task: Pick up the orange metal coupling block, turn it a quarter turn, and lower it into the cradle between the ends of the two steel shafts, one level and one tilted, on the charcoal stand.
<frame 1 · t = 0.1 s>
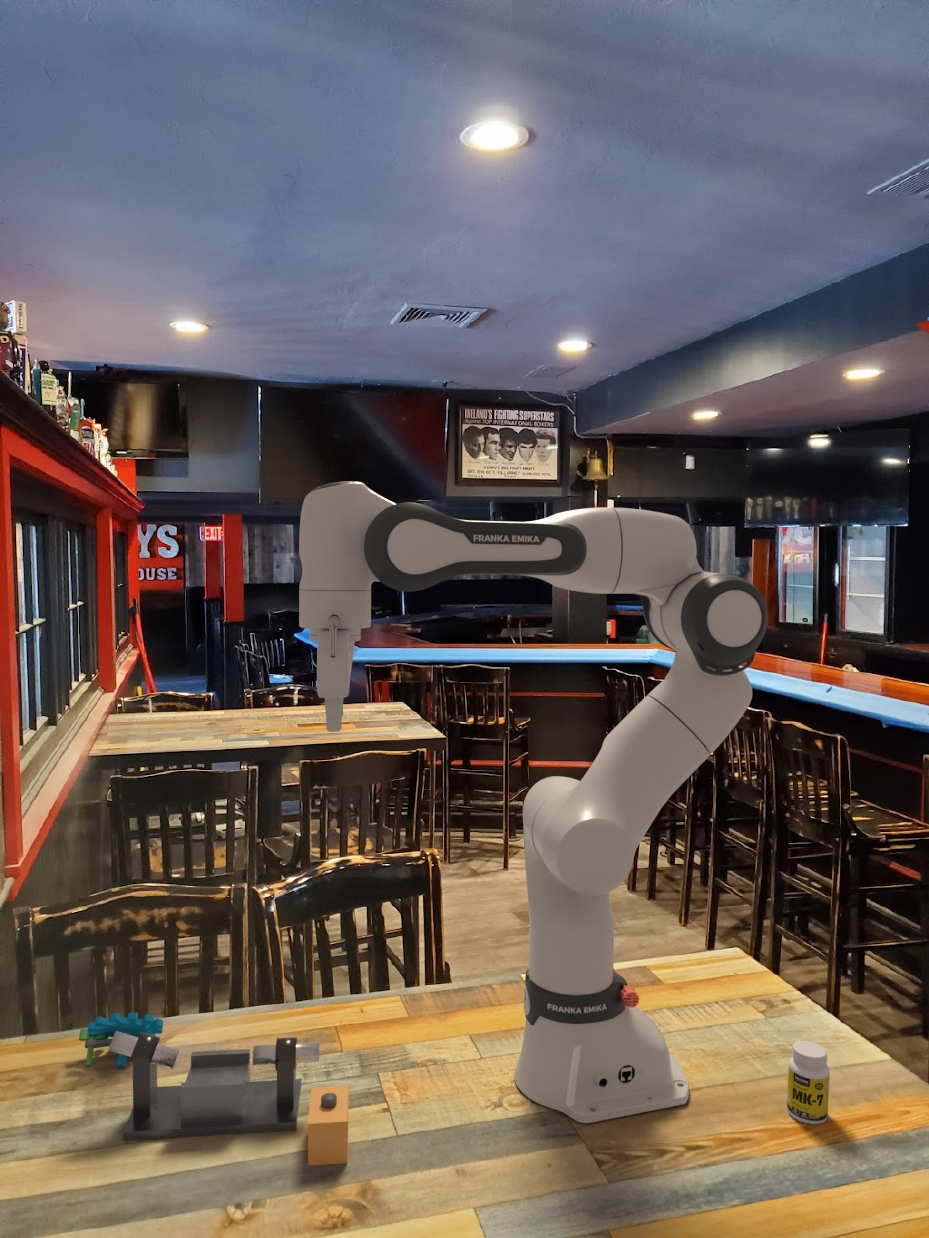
hand: (335, 723, 111), 48 cm above the table, tool pointing down, fingers open, 8 cm apart
shaft stand: (216, 1111, 110), on the table
gear: (122, 1056, 123), on the table
supplement bottle: (807, 1115, 111), on the table
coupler: (328, 1145, 104), on the table
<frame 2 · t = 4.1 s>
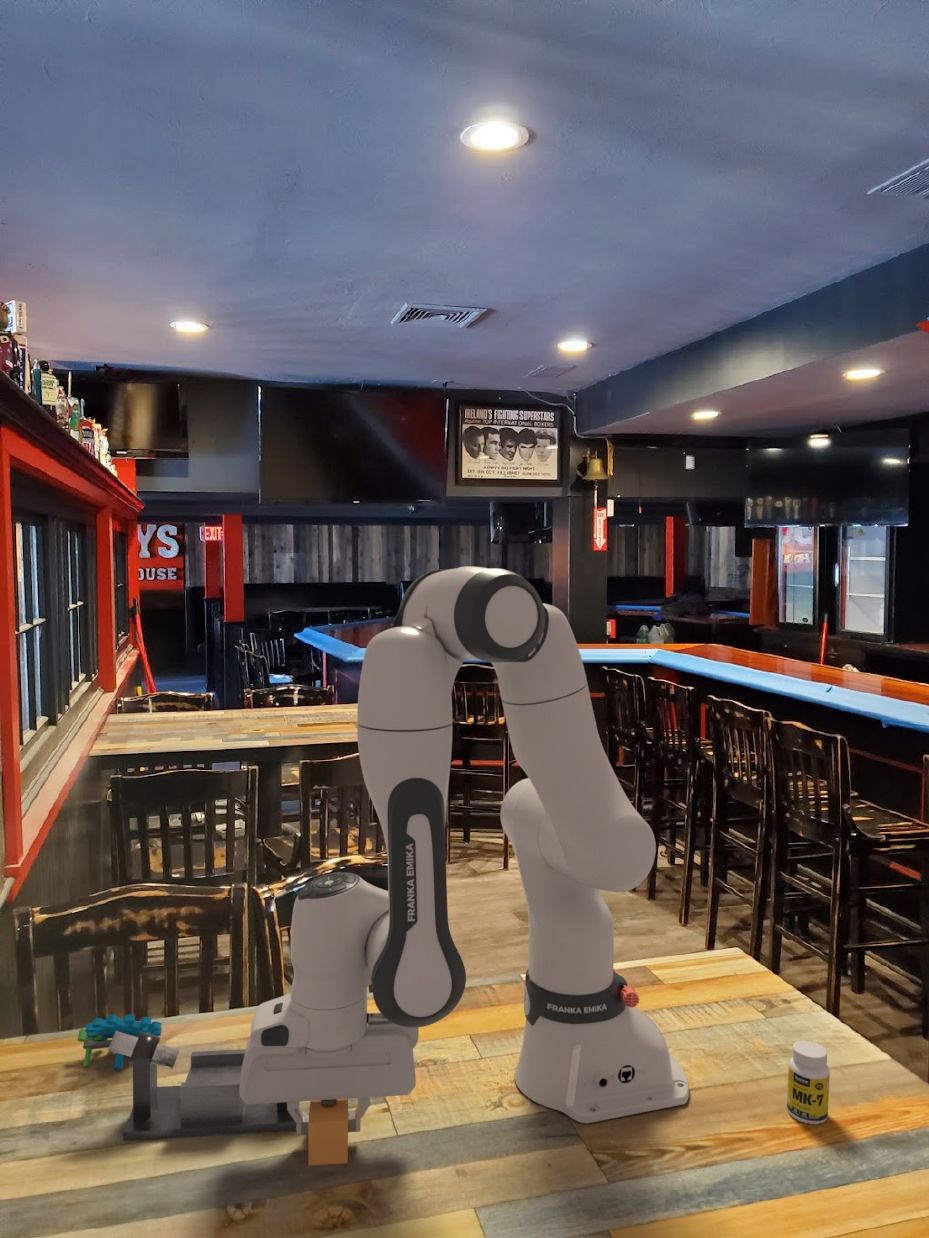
hand: (328, 1130, 104), 2 cm above the table, tool pointing down, fingers closed on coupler, 4 cm apart
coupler: (328, 1144, 104), on the table, touching gripper
everything else where it was.
when the fingers open (7 cm above the table, at t = 10.0 s): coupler drops 1 cm, resting on shaft stand.
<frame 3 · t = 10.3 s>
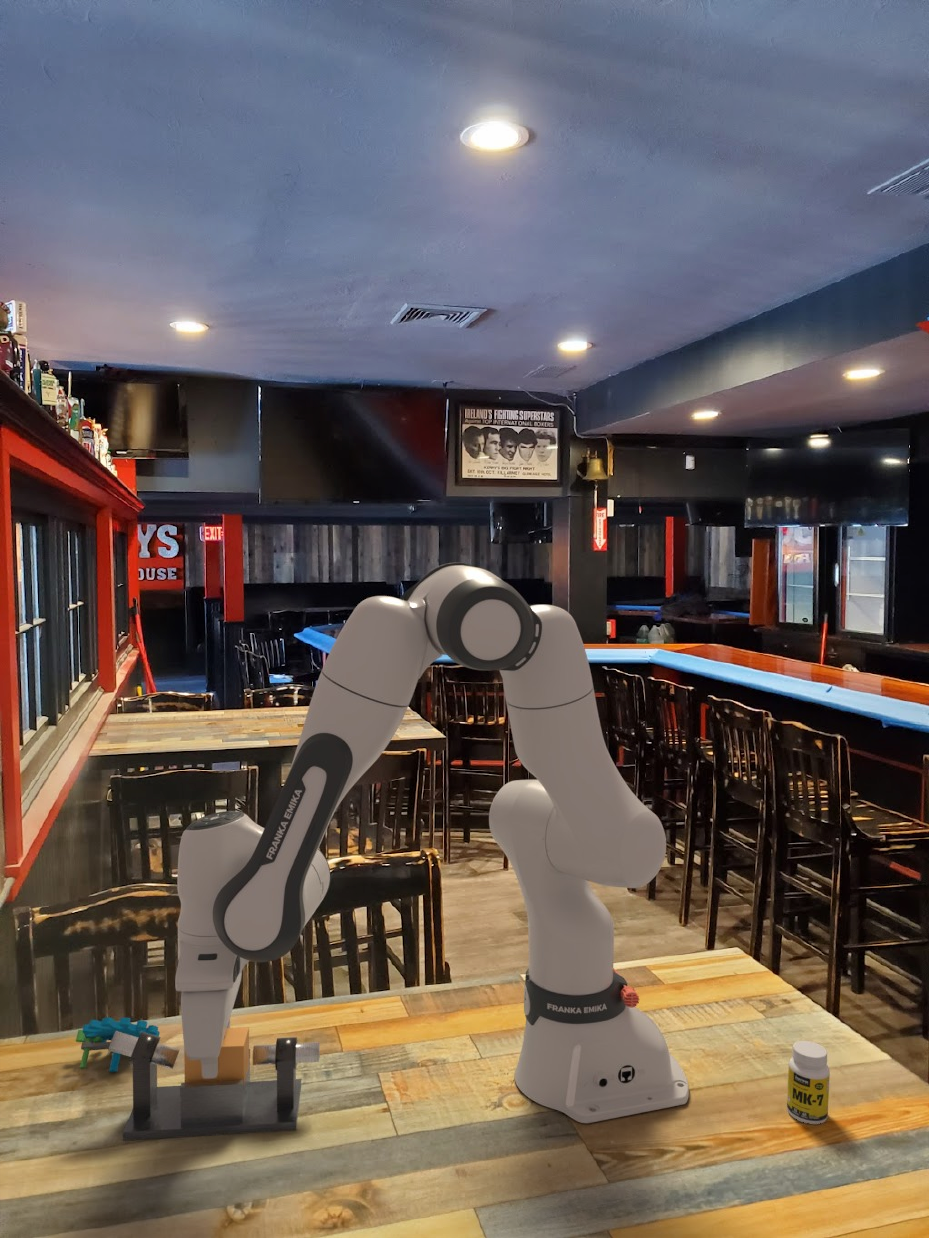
hand: (216, 1054, 110), 7 cm above the table, tool pointing down, fingers open, 7 cm apart
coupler: (217, 1076, 110), point 4 cm above the table, touching shaft stand
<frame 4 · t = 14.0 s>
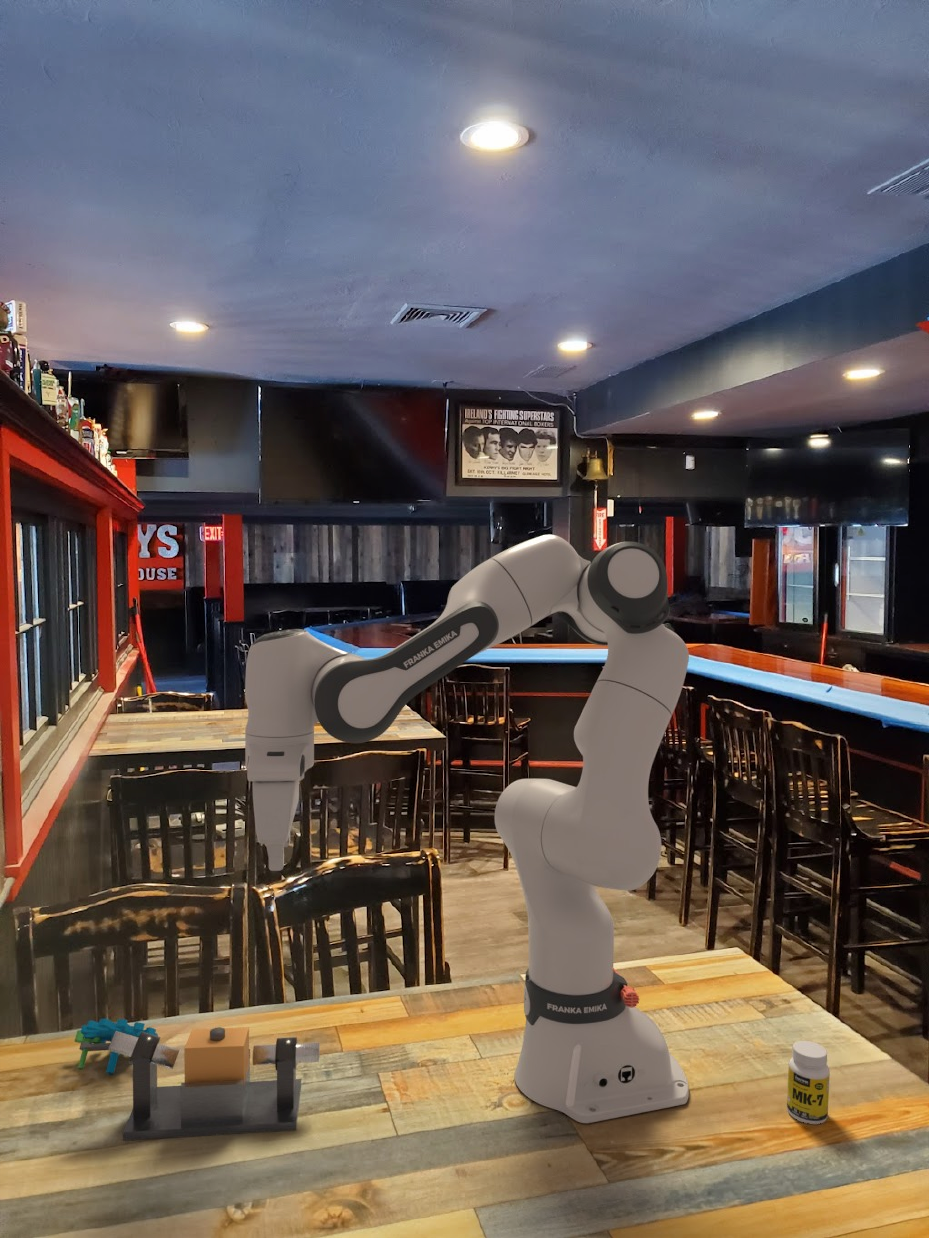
hand: (279, 856, 117), 29 cm above the table, tool pointing down, fingers open, 8 cm apart
at the end: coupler 0.1 cm off-centre on the shaft stand, point 4.5 cm above the shaft stand's base; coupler tilted 0°; the gripper is holding nothing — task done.
